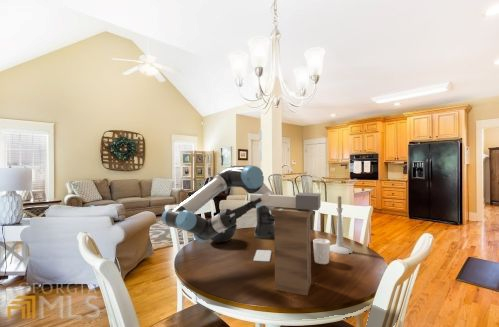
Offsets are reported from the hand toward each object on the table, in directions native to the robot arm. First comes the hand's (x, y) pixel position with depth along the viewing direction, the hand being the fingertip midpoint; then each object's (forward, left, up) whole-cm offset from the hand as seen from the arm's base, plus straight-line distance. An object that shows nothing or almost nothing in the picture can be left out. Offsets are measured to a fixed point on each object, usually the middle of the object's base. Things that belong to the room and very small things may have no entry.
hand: (269, 194), depth 98 cm
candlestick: (-49, +25, -35) cm, 65 cm away
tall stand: (0, +9, -35) cm, 36 cm away
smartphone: (-26, -12, -36) cm, 46 cm away
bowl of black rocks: (-40, -44, -35) cm, 69 cm away
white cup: (-29, +17, -35) cm, 49 cm away
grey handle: (0, +6, -4) cm, 7 cm away
